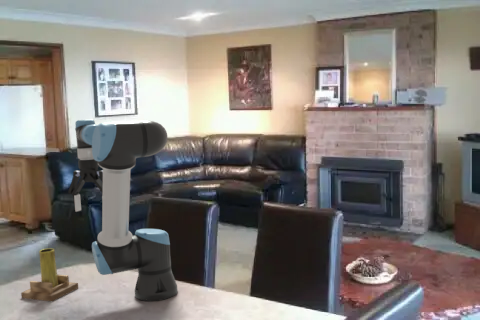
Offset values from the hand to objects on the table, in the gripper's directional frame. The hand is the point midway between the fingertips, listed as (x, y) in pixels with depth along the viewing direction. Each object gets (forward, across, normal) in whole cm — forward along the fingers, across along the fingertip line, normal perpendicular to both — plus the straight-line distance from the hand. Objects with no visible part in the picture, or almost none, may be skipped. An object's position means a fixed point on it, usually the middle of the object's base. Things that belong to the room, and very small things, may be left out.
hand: (92, 211), depth 203 cm
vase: (+25, +5, +21) cm, 33 cm away
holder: (+27, +5, +21) cm, 34 cm away
